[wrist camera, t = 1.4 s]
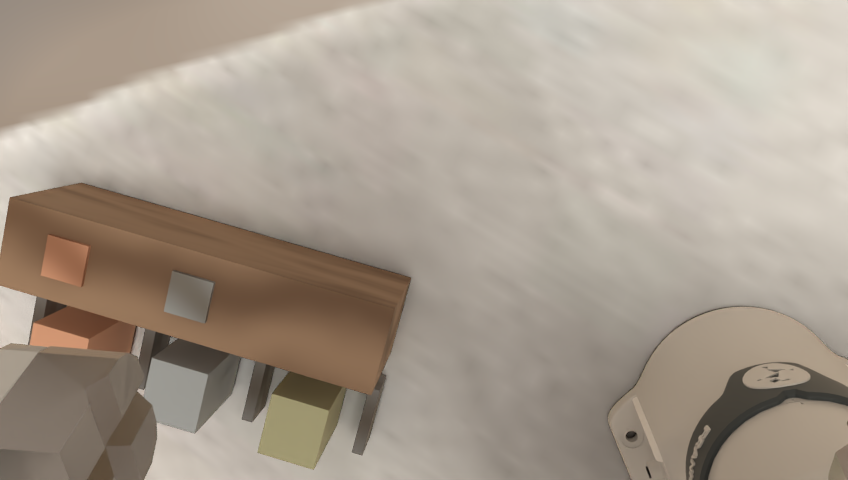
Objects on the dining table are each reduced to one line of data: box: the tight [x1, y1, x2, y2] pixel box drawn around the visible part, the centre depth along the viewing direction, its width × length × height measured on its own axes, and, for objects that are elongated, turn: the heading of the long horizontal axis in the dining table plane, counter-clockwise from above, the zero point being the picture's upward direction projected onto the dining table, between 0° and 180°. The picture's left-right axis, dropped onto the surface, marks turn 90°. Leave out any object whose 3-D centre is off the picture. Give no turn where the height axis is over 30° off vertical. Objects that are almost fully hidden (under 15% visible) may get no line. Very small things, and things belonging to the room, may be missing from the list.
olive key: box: [258, 371, 347, 470], centre depth 58 cm, size 4×4×8 cm
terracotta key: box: [30, 306, 136, 353], centre depth 59 cm, size 4×4×8 cm
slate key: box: [144, 338, 240, 434], centre depth 59 cm, size 4×4×8 cm
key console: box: [0, 183, 411, 455], centre depth 58 cm, size 13×26×9 cm, turn 75°
